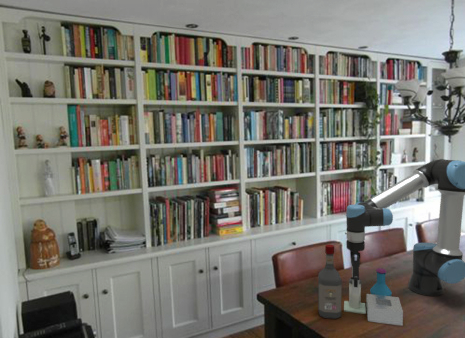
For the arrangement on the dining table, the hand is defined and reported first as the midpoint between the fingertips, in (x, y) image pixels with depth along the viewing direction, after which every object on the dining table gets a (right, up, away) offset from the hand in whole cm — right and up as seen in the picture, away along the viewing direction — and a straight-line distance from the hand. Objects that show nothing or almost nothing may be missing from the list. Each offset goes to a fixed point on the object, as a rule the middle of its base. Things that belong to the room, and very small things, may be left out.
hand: (355, 287), depth 156 cm
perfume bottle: (+14, -9, +7) cm, 18 cm away
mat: (0, -10, +1) cm, 10 cm away
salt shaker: (0, -9, +1) cm, 9 cm away
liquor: (-12, -10, -4) cm, 17 cm away
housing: (+10, -10, -7) cm, 15 cm away
